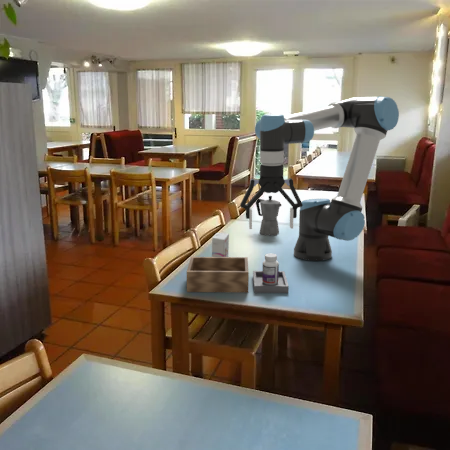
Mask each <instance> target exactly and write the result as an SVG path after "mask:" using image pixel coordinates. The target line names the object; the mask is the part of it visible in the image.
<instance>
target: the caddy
mask: <svg viewBox="0 0 450 450" xmlns="http://www.w3.org/2000/svg"><path fill="white" fill-rule="evenodd" d="M188 262H189V263H188V265H187V269H186V293H247V294H248V293H249V274H250V273H249V260H248V257H247V256H245V257H243V256H241V257H240V256H238V257H237V256H236V257H235V256H231V257H229V256H228V257H212V256H191V257H190V259H189V261H188Z"/></svg>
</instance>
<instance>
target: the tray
mask: <svg viewBox="0 0 450 450" xmlns="http://www.w3.org/2000/svg"><path fill="white" fill-rule="evenodd" d="M262 275H263V270H253V271H252V281H253V291H254V293H256V294H257V293H261V294H262V293H263V294H267V293H268V294H271V293H272V294H288V293H289V288H290V287H289V283H288V280H287V279H288V278H287V276H286V272H285V270H279V272H278V283H277V284H275V285H267V284H264V283H263V282H262Z"/></svg>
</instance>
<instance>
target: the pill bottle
mask: <svg viewBox="0 0 450 450" xmlns="http://www.w3.org/2000/svg"><path fill="white" fill-rule="evenodd" d="M279 265H280V262H279V261H278V255H277V254H276V253H271V252H270V253H266V254H265V255H264V260H263V262H262V271H263V275H262V282H263V283H264V284H267V285H275V284H277V283H278V272H279V271H280V270H279V268H280V266H279Z"/></svg>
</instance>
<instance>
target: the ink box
mask: <svg viewBox="0 0 450 450" xmlns="http://www.w3.org/2000/svg"><path fill="white" fill-rule="evenodd" d="M229 237H230V234H229V233H226V232H225V233H223V232H216V233H215V234H214V235H213V236H212V238H211V257H229V248H230V247H229V244H230V243H229V242H230V238H229Z"/></svg>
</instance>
